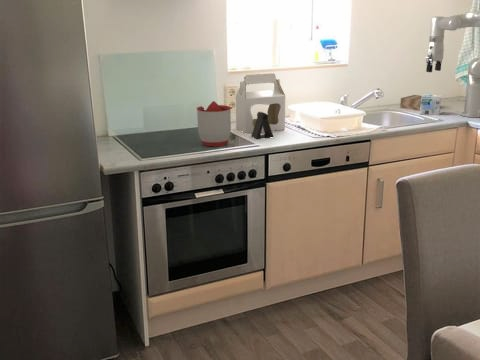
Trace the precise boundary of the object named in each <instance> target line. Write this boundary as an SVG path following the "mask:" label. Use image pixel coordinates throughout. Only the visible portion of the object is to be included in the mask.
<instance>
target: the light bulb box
mask: <svg viewBox="0 0 480 360" xmlns="http://www.w3.org/2000/svg"><path fill="white" fill-rule="evenodd" d="M421 96H422V98H421V107H420V111H419V114H420V115H427V116H428V115H429V116H440V112H441V103H442V102H441V101H442V95H441V94H429V93H428V94H427V93H425V94H424V93H422V95H421Z"/></svg>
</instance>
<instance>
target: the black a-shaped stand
mask: <svg viewBox="0 0 480 360" xmlns="http://www.w3.org/2000/svg"><path fill="white" fill-rule="evenodd" d="M256 119H257V120H256V123H255V126H254V130H253V133H251V137H252V138H253V137H254V139H255V138H256V140H262V139H261V138H265V139H271V138H270V137H273V138H274V135H273V131H271V128H270V125H269V122H268V113H265V112H262V111H258V112H257V113H256ZM262 127H263V129H264V132H263V133H264V134H261V133H262V132H261V131H262Z"/></svg>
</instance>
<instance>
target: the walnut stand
mask: <svg viewBox="0 0 480 360" xmlns="http://www.w3.org/2000/svg"><path fill="white" fill-rule="evenodd" d="M421 98H422V95H419V94H412V95H408V96H403V97H400V104H399V108H400V109H406V110H412V109H413V110H414V111H419V110H420V107H421Z"/></svg>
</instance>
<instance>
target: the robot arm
mask: <svg viewBox="0 0 480 360" xmlns="http://www.w3.org/2000/svg"><path fill="white" fill-rule="evenodd" d="M473 27H474V28H480V10H475V11H473V12H468V13H461V14H456V15H455V14H454V15H451V16H450V15H449V16H447V17H446V16H432V17H431V19H430V29H429V39H428V43H429V45H428V50H427V56H425V59H426V61H425V62H426V70H425V72H426V73H433V63H434V62H435V64H434V65H435V66H434V70H435V71H439V72H440V71H441V69H442V64H443V60H444V52H445V51H444V48H445V47H444V46H445V45H444V40H445V31H451V32H453V31H454V32H455V31H457V30H458V29H459V30H460V29H465V28H466V29H467V28H473ZM465 89H466V90H465V99H464V105H463V111H461V112H460V116H462V117H464V118H465V117H467V118H480V57H476V58H474V59H472V60H471V61H470V62H469V64H468V68H467V79H466V88H465Z"/></svg>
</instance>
